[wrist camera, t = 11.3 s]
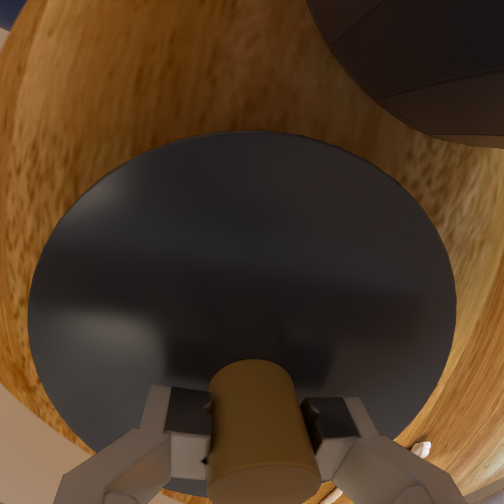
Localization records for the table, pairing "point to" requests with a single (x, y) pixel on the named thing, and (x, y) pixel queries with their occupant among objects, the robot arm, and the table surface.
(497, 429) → the table surface
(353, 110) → the table surface
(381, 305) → the tin lid
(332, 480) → the robot arm
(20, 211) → the table surface
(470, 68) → the tin
